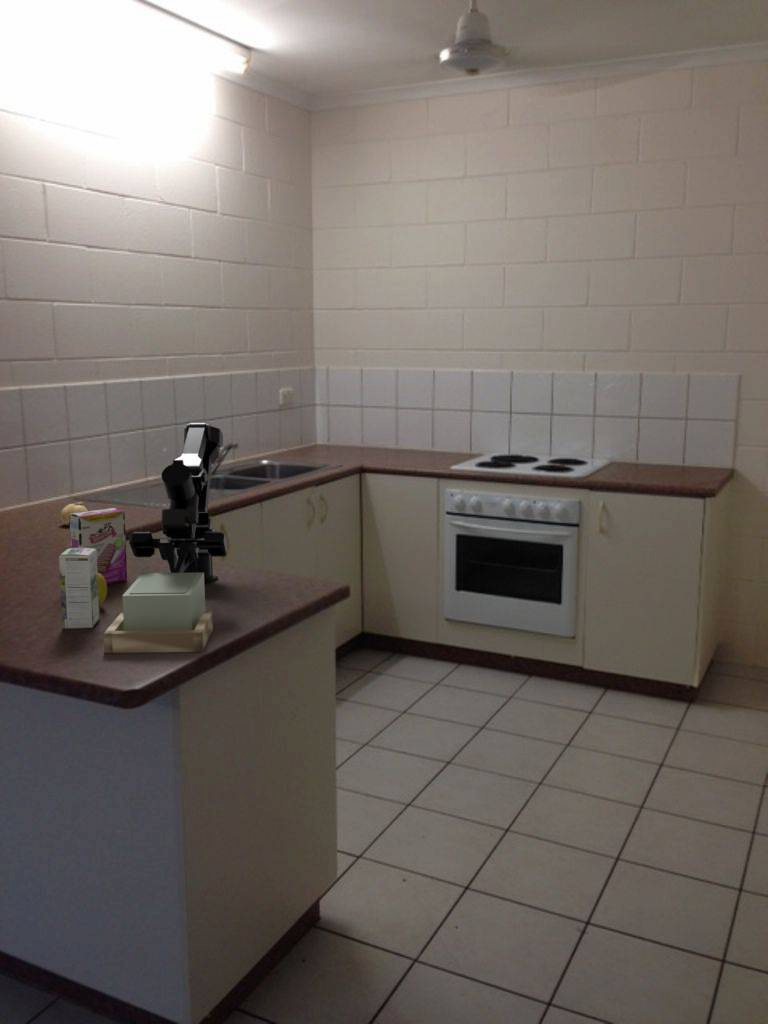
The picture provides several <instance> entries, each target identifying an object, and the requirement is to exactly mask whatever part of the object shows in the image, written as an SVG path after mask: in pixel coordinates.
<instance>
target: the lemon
mask: <svg viewBox="0 0 768 1024" xmlns="http://www.w3.org/2000/svg"><path fill="white" fill-rule="evenodd" d="M98 592H99V605H100V604H102V603H103V602H104V601H105V599H106V597H107V595H108V594H107V593H108V584H106V581H105V579H104V577H103V576H102V575H101V574H100V573H98Z"/></svg>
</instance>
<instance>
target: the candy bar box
mask: <svg viewBox="0 0 768 1024" xmlns="http://www.w3.org/2000/svg"><path fill="white" fill-rule="evenodd" d="M125 514H126V513H125V510H123V509H119V508H117V507H112V508H111V507H110V508H103V509H102V508H101V509H95V510H88V511H86V512H78V513H71V514H69V517H70V524H69V525H70V526H69V531H70V532H69V533H70V534H69V535H70V536H69V537H70V548H92V549H96V550H97V571H98V573H100V574H101V575H102V576H103V577H104V579H105V581H106V584H107V585H111V584H115V583H120V582H127V581H128V571H127V569H128V567H127V545H126V539H127V537H126V516H125Z"/></svg>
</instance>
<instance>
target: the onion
mask: <svg viewBox="0 0 768 1024" xmlns="http://www.w3.org/2000/svg"><path fill="white" fill-rule="evenodd" d="M86 511H89V510H88V508H87V507H85V506H84V503H83V502H82V500H80V501H79V502H75V503H69V504H67V505H65V507H63V509H62V510H61V512H60V516H59V517H60V520H61V522H62V523H63V524H64V525H66V526H68V527H70V517H69V514H71V513H78V512H86Z"/></svg>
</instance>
